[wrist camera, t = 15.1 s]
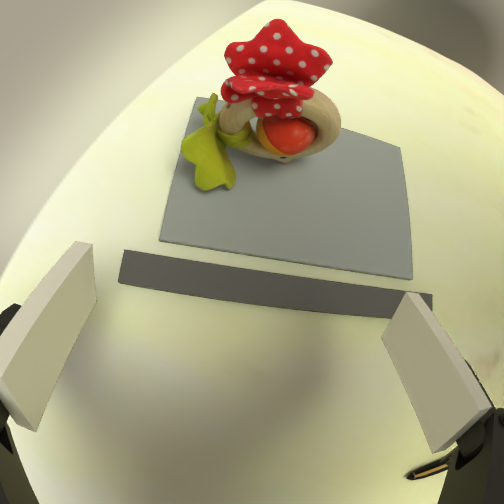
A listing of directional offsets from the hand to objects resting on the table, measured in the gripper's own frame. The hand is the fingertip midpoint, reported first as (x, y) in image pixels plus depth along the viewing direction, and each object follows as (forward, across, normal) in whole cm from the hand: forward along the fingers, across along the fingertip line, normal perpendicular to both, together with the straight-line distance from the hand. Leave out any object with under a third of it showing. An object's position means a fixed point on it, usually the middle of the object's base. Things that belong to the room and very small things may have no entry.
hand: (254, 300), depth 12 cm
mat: (+10, +4, +1) cm, 11 cm away
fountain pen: (-3, +22, -13) cm, 26 cm away
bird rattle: (+12, 0, +3) cm, 12 cm away
